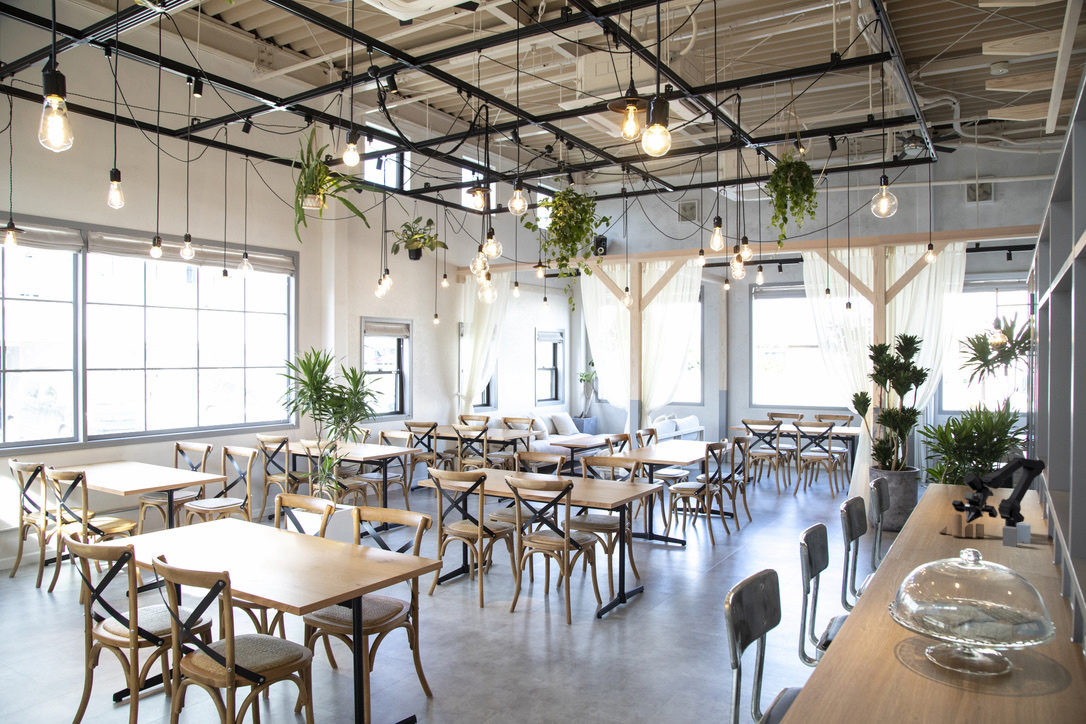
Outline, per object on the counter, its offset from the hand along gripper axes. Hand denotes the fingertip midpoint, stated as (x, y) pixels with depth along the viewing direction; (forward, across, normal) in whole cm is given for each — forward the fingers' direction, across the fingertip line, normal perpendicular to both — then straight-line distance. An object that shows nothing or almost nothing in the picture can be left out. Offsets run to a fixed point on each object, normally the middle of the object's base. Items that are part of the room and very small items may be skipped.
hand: (967, 522), depth 337 cm
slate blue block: (-5, +18, +14) cm, 23 cm away
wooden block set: (+6, -2, +4) cm, 8 cm away
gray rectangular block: (+5, +19, +5) cm, 20 cm away
